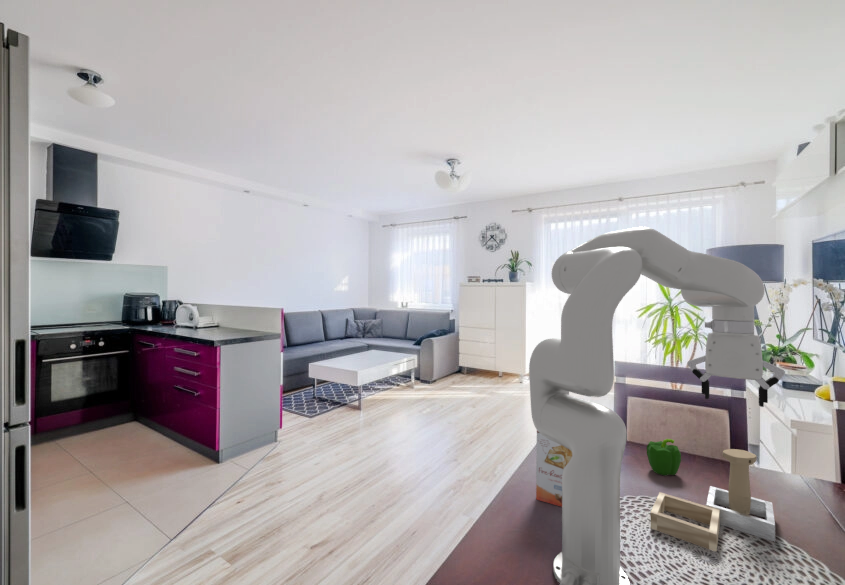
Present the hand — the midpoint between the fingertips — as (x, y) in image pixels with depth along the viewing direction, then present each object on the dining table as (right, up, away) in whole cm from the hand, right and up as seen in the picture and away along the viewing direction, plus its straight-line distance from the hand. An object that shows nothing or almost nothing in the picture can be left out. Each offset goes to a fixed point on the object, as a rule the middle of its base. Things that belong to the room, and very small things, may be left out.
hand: (733, 401), depth 86 cm
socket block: (0, -27, -1) cm, 27 cm away
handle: (0, -27, -1) cm, 27 cm away
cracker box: (-37, -27, +5) cm, 46 cm away
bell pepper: (-3, -27, +21) cm, 35 cm away
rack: (-14, -27, -4) cm, 30 cm away
